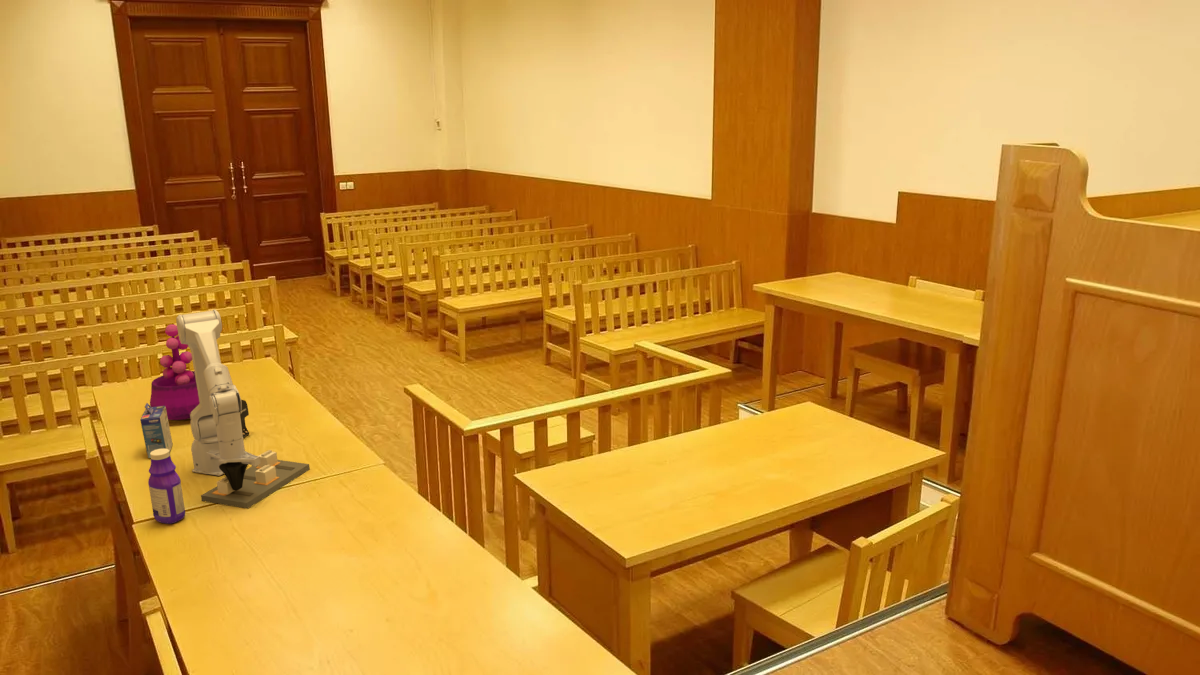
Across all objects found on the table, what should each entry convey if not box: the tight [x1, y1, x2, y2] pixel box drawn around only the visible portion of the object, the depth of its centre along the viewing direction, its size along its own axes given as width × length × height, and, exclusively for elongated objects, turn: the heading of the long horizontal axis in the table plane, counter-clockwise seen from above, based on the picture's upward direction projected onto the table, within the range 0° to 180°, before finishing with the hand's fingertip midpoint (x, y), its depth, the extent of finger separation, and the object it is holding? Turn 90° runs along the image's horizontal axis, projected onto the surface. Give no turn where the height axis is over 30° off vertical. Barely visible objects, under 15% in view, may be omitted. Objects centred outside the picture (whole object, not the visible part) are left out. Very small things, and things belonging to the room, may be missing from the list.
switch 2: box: [258, 449, 278, 467], centre depth 231 cm, size 3×4×4 cm
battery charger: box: [239, 399, 250, 439], centre depth 253 cm, size 7×4×11 cm, turn 167°
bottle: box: [148, 449, 186, 525], centre depth 203 cm, size 7×6×17 cm
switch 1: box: [216, 476, 235, 494], centre depth 216 cm, size 3×4×4 cm
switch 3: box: [255, 464, 276, 484], centre depth 222 cm, size 3×4×4 cm
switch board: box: [200, 459, 311, 509], centre depth 223 cm, size 14×24×2 cm, turn 161°
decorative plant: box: [149, 324, 200, 421], centre depth 269 cm, size 19×19×30 cm
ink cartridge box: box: [139, 402, 173, 459], centre depth 244 cm, size 10×6×14 cm, turn 18°
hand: (237, 488), depth 215 cm, fingers closed
